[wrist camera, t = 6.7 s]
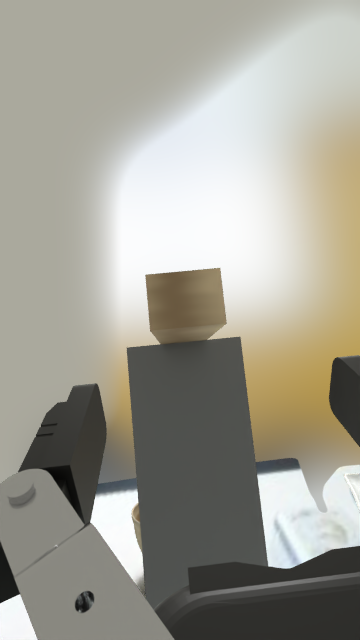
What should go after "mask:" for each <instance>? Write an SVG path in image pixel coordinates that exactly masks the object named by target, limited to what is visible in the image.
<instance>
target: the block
mask: <svg viewBox="0 0 360 640" xmlns="http://www.w3.org/2000/svg"><path fill="white" fill-rule="evenodd" d="M146 287H147V299H148V310H149V322H150V331H151V332H152V334H153V335H154V336H155V337H156V339H157V340H158V341H159V343H160V344H171V343H181V342H191V341H202V340H207V339H208V338H209V337H211V336H212V335H213V334H214V333H215V332H217V331H218V330H219V329H220V328H222V327H223V326H224V325H225V324H226V314H225V306H224V297H223V289H222V280H221V271H220V268H214V269H203V270H192V271H182V272H171V273H160V274H149V275H146Z"/></svg>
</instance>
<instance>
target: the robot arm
mask: <svg viewBox="0 0 360 640" xmlns="http://www.w3.org/2000/svg"><path fill="white" fill-rule="evenodd" d="M329 394H330V395H329V402H330V406H331V409H332V411H333V414H334V415H335V416H336V418H337V419H338V420H339V422H340V423H341V424H342V425H343V426H344V428H345V429H346V430H347V431H348V433H349V434H350V435H351V437H352V438H353V439H354V440H355V442H356V443H357V444H358V445H359V447H360V356H359V355H357V356H348V357H337V358H335V359H334V361H333V364H332V373H331V383H330V393H329ZM105 443H106V421H105V416H104V411H103V406H102V401H101V396H100V391H99V387H98V385H97V384H96V383H95V384H86V385H76V386H73V388H72V390H71V392H70V395H69V397H68V400H67V402H60V403H57V404H56V405H55V406H54V407H53V408H52V409H51V410H50V411H49V412H47V413H46V416H45V418H44V420H43V422H42V424H41V427H40V428H39V430H38V432H37V434H36V437H35V438H34V440H33V442H32V444H31V446H30V449H29V451H28V453H27V455H26V457H25V459H24V461H23V463H22V465H21V467H20V469H19V471H18V473H16V474H14V475H12V476H11V477H9V478H7V479H6V480H5V481H3V482H2V483H1V484H0V603H2V602H4V601H6V600H8V599H10V598H12V597H14V596H17V595H19V594H20V595H21V597H22V600H23V602H24V605H25V608H26V610H27V613H28V615H29V618H30V621H31V623H32V626H33V628H34V631H35V634H36V636H37V639H38V640H360V546H356V547H348V548H340V549H332V550H330V551H328V552H326V553H324V554H321V555H319V556H317V557H315V558H313V559H310V560H308V561H306V562H304V563H302V564H300V565H297V566H295V567H293V568H290V569H282V568H275V567H268V566H261V565H254V564H248V563H241V562H229V563H221V564H213V565H205V566H197V567H189V568H188V577H189V585H188V586H186V587H184V588H182V589H179V590H178V591H176V592H175V593H173V594H171V595H170V596H168V597H167V598H166V599H165V600H163V601H162V602H161V603H160V604H158V605H157V607H156V608H155V609H154V610H153V608H152V607H151V606H150V604H149V603H148V601H147V600H146V599H145V597H144V596H143V594H142V593H141V591H140V590H139V589H138V587H137V586H136V584H135V583H134V582H133V580H132V579H131V577H130V576H129V574H128V573H127V572H126V570H125V569H124V567H123V566H122V565H121V563H120V562H119V560H118V559H117V557H116V556H115V555H114V553H113V552H112V550H111V549H110V548H109V546H108V545H107V543H106V542H105V540H104V539H103V538H102V536H101V535H100V533H99V532H98V531H97V529H96V528H95V527H94V526H93V525H92V524H91V523H90V520H91V515H92V510H93V505H94V499H95V494H96V489H97V484H98V479H99V474H100V468H101V464H102V458H103V453H104V448H105Z"/></svg>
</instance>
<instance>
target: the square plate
mask: <svg viewBox="0 0 360 640" xmlns="http://www.w3.org/2000/svg"><path fill="white" fill-rule="evenodd" d="M344 478H345V480H346V482H347V484H348V486H349V487H350V489H351V491H352V493H353V496H354V498H355V501H356V503H357V506H358V509H359V512H360V473H359V474H344Z"/></svg>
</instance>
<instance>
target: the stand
mask: <svg viewBox="0 0 360 640" xmlns="http://www.w3.org/2000/svg"><path fill="white" fill-rule="evenodd" d="M127 356H128V371H129V383H130V397H131V410H132V423H133V436H134V449H135V462H136V474H137V489H138V502H139V515H140V528H141V541H142V554H143V567H144V580H145V593H146V600H147V601H148V603H149V604H150V606H151V607H152V608H153V610H154V609H155V608H156V607H157V605H158V604H160V603H161V602H162V601H163V600H165V599H166V598H167V597H168V596H170V595H171V594H173V593H175V592H176V591H178V590H179V589H182V588H184V587H186V586H188V585H189V577H188V568H189V567H197V566H205V565H213V564H221V563H229V562H241V563H248V564H254V565H261V566H268V561H267V553H266V545H265V536H264V528H263V520H262V512H261V503H260V495H259V487H258V479H257V470H256V462H255V454H254V446H253V438H252V429H251V421H250V413H249V405H248V396H247V388H246V380H245V373H244V372H245V371H244V363H243V355H242V347H241V339H240V337H233V338H222V339H212V340H202V341H191V342H181V343H171V344H160V345H150V346H140V347H130V348H127Z"/></svg>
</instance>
